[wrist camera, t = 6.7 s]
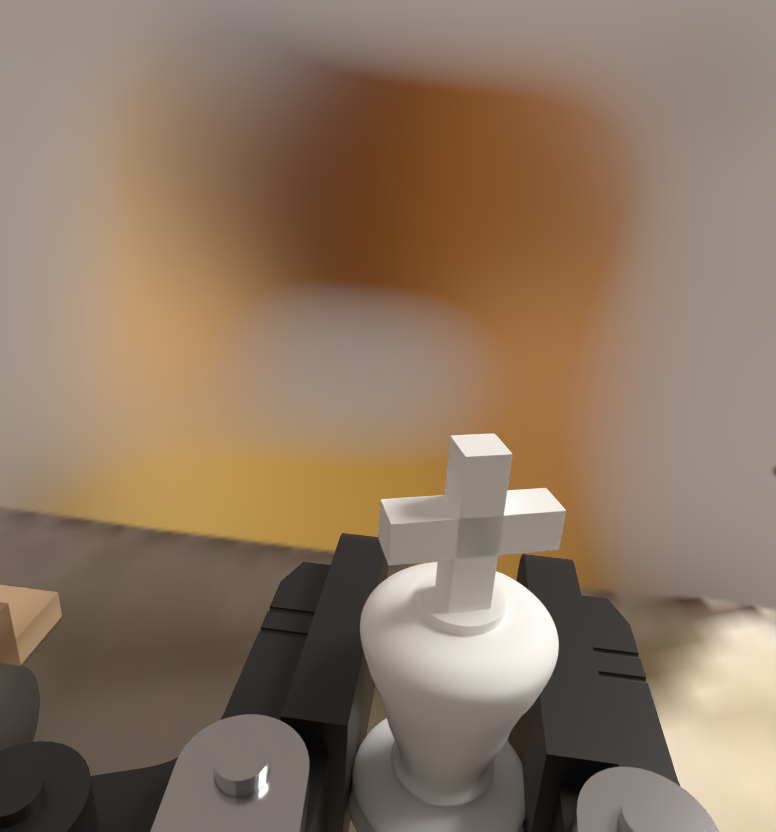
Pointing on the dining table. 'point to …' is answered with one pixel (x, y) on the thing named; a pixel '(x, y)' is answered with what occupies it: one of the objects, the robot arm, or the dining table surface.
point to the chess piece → (455, 651)
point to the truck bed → (22, 658)
